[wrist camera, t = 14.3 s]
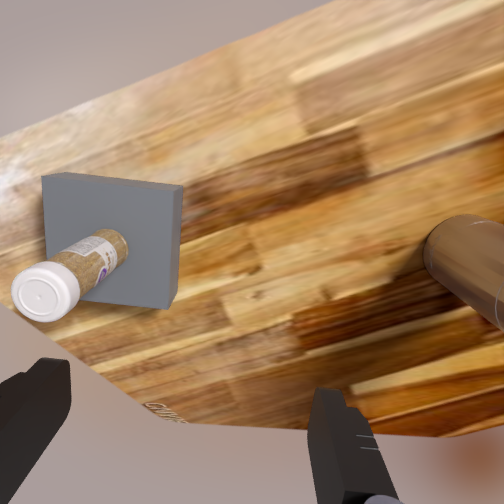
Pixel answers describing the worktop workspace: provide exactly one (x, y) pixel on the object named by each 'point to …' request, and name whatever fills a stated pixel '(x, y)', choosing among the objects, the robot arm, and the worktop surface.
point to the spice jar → (67, 276)
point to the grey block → (124, 222)
